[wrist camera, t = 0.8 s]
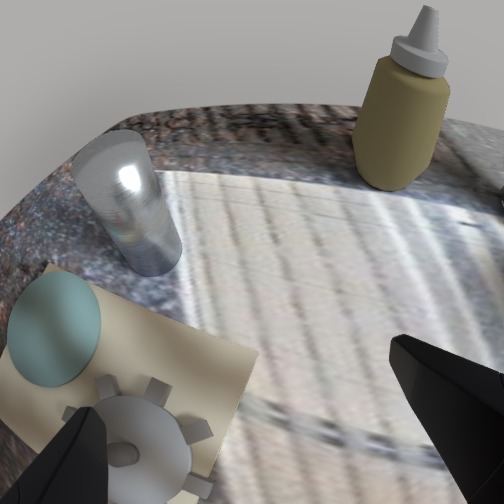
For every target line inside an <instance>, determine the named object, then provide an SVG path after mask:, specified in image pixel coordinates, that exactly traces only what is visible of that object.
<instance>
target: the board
mask: <svg viewBox="0 0 504 504" xmlns="http://www.w3.org/2000/svg"><path fill="white" fill-rule="evenodd" d="M257 356H258V351H255V350H252V349H249V348H246V347H244V346H241V345H238V344H235V343H232V342H230V341H227V340H224V339H221V338H219V337H216V336H213V335H211V334H208V333H205V332H203V331H200V330H198V329H195V328H193V327H190V326H187V325H185V324H182V323H180V322H177V321H175V320H173V319H170V318H168V317H165V316H163V315H160V314H158V313H156V312H153V311H151V310H149V309H146V308H144V307H142V306H139V305H137V304H135V303H133V302H130V301H128V300H126V299H124V298H121V297H119V296H117V295H115V294H113V293H110V292H108V291H106V290H104V289H102V288H100V287H98V286H96V285H93V284H91V283H89V282H87V281H85V280H83V279H81V278H80V277H79V276H77V275H75V274H73V273H70V272H67V271H65V270H63V269H61V268H59V267H57V266H55V265H53V264H51V263H50V262H49V264H48V266H47V267H46V269H45V271H44V272H43V274H42V276H40V277H39V278H37V279H35V280H34V281H33V282H31V283H30V284H29V285H28V286H27V287H26V288H25V289H24V291H23V292H22V293H21V294H20V296H19V297H18V299H17V301H16V302H15V304H14V307H13V309H12V312H11V314H10V318H9V322H8V329H7V345H6V347H5V349H4V351H3V354H2V356H1V358H0V419H1V420H2V421H3V422H4V423H5V424H6V425H7V426H8V427H9V428H10V429H11V430H12V431H13V432H14V433H15V434H16V435H17V436H18V437H20V438H21V439H22V440H23V441H24V442H25V443H26V444H27V445H28V446H30V447H31V448H32V449H33V450H34V451H35V452H36V453H38V454H39V453H40V452H41V451H42V450H43V449H44V448H45V446H46V445H47V444H48V443H49V442H50V441H51V439H52V438H53V437H54V436H55V435H56V434H57V433H58V431H59V430H60V429H61V428H62V427H63V426H64V424H65V423H66V422H67V421H68V420H69V419H70V418H71V416H72V415H73V414H74V413H75V412H76V411H77V410H78V409H79V408H80V407H86V406H91V407H93V408H94V409H95V410H96V412H97V413H98V414H99V416H100V417H101V418H102V420H103V421H104V423H105V425H106V429H107V450H108V467H109V479H108V504H197V502H198V499H199V497H201V498H203V499H206V498H207V497H208V496H209V494H210V492H211V490H212V487H213V485H214V483H215V481H214V480H212V479H209V478H208V477H209V474H210V472H211V470H212V467H213V465H214V463H215V460H216V458H217V456H218V453H219V451H220V449H221V446H222V444H223V441H224V439H225V437H226V434H227V432H228V429H229V427H230V424H231V422H232V420H233V417H234V415H235V412H236V410H237V407H238V405H239V402H240V400H241V397H242V395H243V392H244V390H245V387H246V385H247V382H248V380H249V377H250V374H251V372H252V369H253V367H254V364H255V361H256V359H257Z"/></svg>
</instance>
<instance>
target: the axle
mask: <svg viewBox="0 0 504 504" xmlns="http://www.w3.org/2000/svg"><path fill="white" fill-rule="evenodd" d="M71 175H72V178H73V179H74V181H75V183H76V184H77V186H78V188H79V189H80V191H81V192H82V194H83V196H84V197H85V199H86V200H87V202H88V204H89V205H90V207H91V208H92V210H93V211H94V213H95V215H96V216H97V218H98V219H99V221H100V222H101V224H102V225H103V227H104V228H105V230H106V231H107V233H108V234H109V236H110V237H111V239H112V240H113V242H114V243H115V244H116V246H117V247H118V249H119V250H120V252H121V253H122V255H123V256H124V257H125V259H126V260H127V262H128V263H129V264H130V266H131V267H132V268H133V270H134V271H135V272H136V273H138V274H140V275H142V276H145V277H157V276H160V275H163V274H165V273H167V272H169V271H170V270H171V269H172V268H173V267H174V266H175V265H176V264H177V263H178V261H179V259H180V257H181V254H182V243H181V240H180V237H179V235H178V232H177V229H176V227H175V224H174V222H173V219H172V217H171V214H170V211H169V209H168V206H167V203H166V201H165V198H164V195H163V193H162V190H161V187H160V185H159V182H158V179H157V176H156V174H155V171H154V168H153V165H152V162H151V160H150V157H149V154H148V151H147V148H146V145H145V142H144V140H143V137H142V136H141V135H140V134H139V133H137V132H135V131H132V130H116V131H112V132H108V133H106V134H103V135H101V136H99V137H97V138H95V139H94V140H92V141H91V142H89V143H88V144H87V145H86V146H85V147H83V149H82V150H81V151H80V152H79V153H78V154H77V156H76V157H75V159H74V161H73V164H72V167H71Z"/></svg>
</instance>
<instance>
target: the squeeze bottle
mask: <svg viewBox="0 0 504 504" xmlns="http://www.w3.org/2000/svg"><path fill="white" fill-rule="evenodd" d="M448 62H449V61H448V57H447V55H446V54H445V53H444V52H443V51H441V50H440V49H438V10H436V9H434V8H432V7H429V6H423V8H422V10H421V12H420V14H419V16H418V18H417V20H416V22H415V24H414V26H413V28H412V30H411V31H410V33H409V35H408V36H397V37H394V40H393V44H392V48H391V53H390V55H389V56H386V57H383V58H380V59H378V62H377V64H376V67H375V70H374V73H373V76H372V79H371V82H370V85H369V88H368V91H367V94H366V97H365V99H364V102H363V105H362V108H361V111H360V113H359V116H358V119H357V122H356V125H355V127H354V130H353V133H352V141H353V147H354V154H355V161H356V166H357V171H358V173H359V174H360V175H361V177H362V178H363V179H364V180H365V181H366V182H368V183H369V184H370V185H372V186H373V187H376V188H378V189H381V190H384V191H398V190H401V189H403V188H405V187H406V186H407V185H408V184H409V183H411V182H412V181H413V180H414V179H415V178H416V177H418V176H419V175H420V174H421V173H422V172H423V171H424V170H425V169H426V168H427V167H428V166H429V164H430V161H431V158H432V155H433V152H434V148H435V145H436V142H437V139H438V135H439V132H440V129H441V125H442V122H443V118H444V114H445V111H446V107H447V103H448V99H449V95H450V86H449V85H448V83H447V81H446V80H445V78H444V77H443V76H444V74H445V71H446V68H447V65H448Z"/></svg>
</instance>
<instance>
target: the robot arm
mask: <svg viewBox="0 0 504 504" xmlns="http://www.w3.org/2000/svg"><path fill="white" fill-rule="evenodd" d="M389 362H390V365H391V367H392V369H393V371H394V373H395V375H396V378H397V380H398V382H399V384H400V386H401V388H402V390H403V392H404V394H405V397H406V399H407V401H408V403H409V404H410V406H411V408H412V410H413V411H414V413H415V414H416V416H417V418H418V419H419V421H420V422H421V424H422V426H423V427H424V429H425V431H426V432H427V434H428V436H429V437H430V439H431V441H432V442H433V444H434V446H435V447H436V449H437V451H438V452H439V454H440V456H441V457H442V459H443V461H444V463H445V464H446V466H447V468H448V469H449V471H450V473H451V475H452V476H453V478H454V480H455V482H456V483H457V485H458V487H459V489H460V491H461V492H462V494H463V496H464V498H465V500H466V501H467V504H504V374H503V373H499V372H498V371H495V370H493V369H490V368H488V367H485V366H483V365H480V364H478V363H475V362H473V361H470V360H468V359H465V358H463V357H460V356H458V355H455V354H453V353H450V352H448V351H445V350H443V349H441V348H438V347H436V346H433V345H431V344H428V343H426V342H423V341H421V340H419V339H416V338H414V337H411V336H409V335H406V334H401V335H398V336H396V337H393V338H392V340H391V344H390V353H389ZM108 479H109V467H108V450H107V429H106V425H105V423H104V421H103V420H102V418H101V417H100V416H99V414H98V413H97V412H96V410H95V409H94V408H93V407H91V406H86V407H80V408H79V409H78V410H77V411H76V412H75V413H74V414H73V415H72V416H71V418H70V419H69V420H68V421H67V422H66V423H65V424H64V426H63V427H62V428H61V429H60V430H59V431H58V433H57V434H56V435H55V436H54V437H53V438H52V439H51V441H50V442H49V443H48V444H47V445H46V446H45V448H44V449H43V450H42V451H41V452H40V453H39V455H38V456H37V457H36V458H35V459H34V460H33V462H32V463H31V464H30V465H29V466H28V468H27V469H26V470H25V471H24V472H23V473H22V475H21V476H20V477H19V478H18V481H16V482H15V483H14V484H13V485H12V487H11V488H10V489H9V490H8V491H7V492H6V493H5V495H4V496H3V497H2V498H1V499H0V504H108Z"/></svg>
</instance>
